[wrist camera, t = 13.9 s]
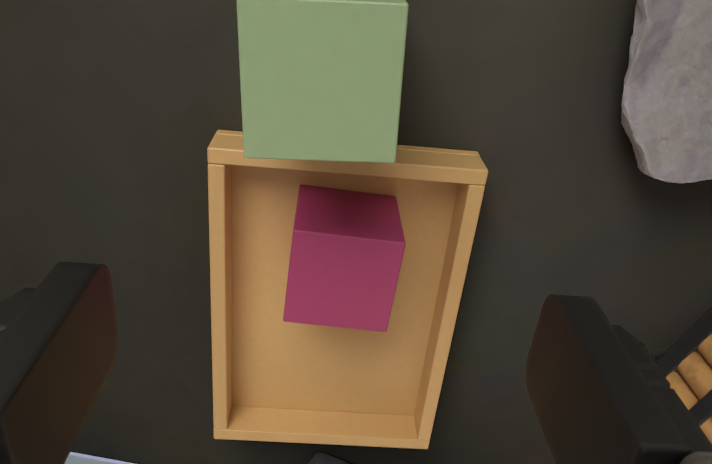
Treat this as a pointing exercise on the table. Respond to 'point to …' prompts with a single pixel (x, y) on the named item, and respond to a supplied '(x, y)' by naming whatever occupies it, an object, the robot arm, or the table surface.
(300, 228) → the pink block
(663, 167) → the stone block
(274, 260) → the tray
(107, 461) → the diorama
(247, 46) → the green block
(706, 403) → the ammunition clip
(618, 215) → the table surface
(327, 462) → the calculator
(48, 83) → the table surface
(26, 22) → the table surface
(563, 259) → the table surface
